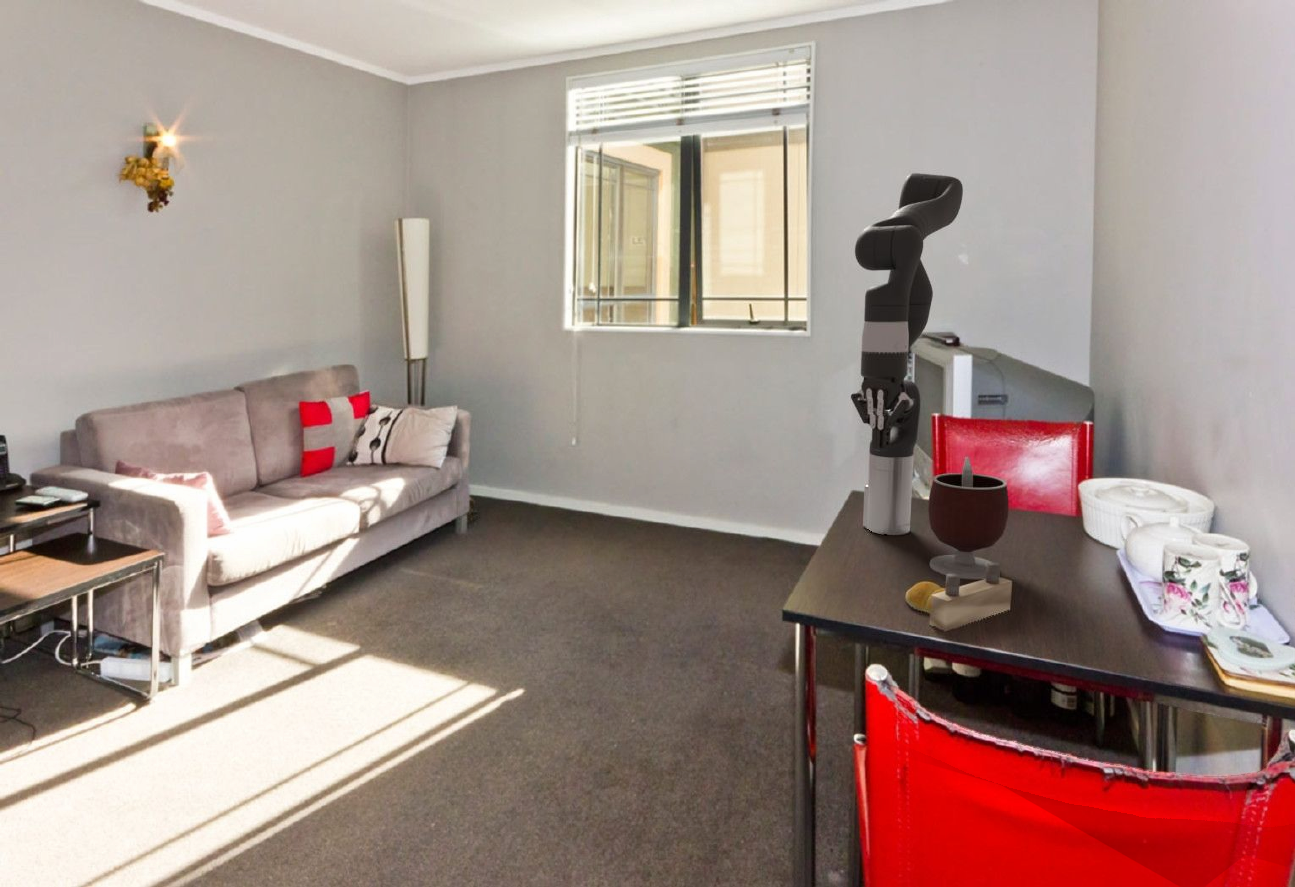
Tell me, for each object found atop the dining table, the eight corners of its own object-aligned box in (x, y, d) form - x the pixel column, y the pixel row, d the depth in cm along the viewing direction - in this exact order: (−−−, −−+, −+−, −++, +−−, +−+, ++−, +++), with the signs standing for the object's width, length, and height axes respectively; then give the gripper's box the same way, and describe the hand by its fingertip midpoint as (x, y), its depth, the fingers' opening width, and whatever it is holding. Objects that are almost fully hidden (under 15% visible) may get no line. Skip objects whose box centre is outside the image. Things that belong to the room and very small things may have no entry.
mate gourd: (1008, 584, 142) (1016, 475, 139) (926, 576, 146) (932, 470, 143) (998, 557, 157) (1005, 458, 153) (923, 551, 161) (929, 454, 157)
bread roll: (948, 622, 126) (949, 598, 125) (898, 606, 133) (899, 583, 132) (974, 609, 131) (975, 586, 131) (925, 594, 138) (926, 572, 137)
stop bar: (929, 625, 124) (932, 576, 123) (993, 604, 133) (996, 558, 131) (945, 631, 122) (948, 582, 121) (1010, 610, 130) (1013, 563, 129)
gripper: (932, 349, 129) (926, 454, 132) (870, 346, 140) (866, 442, 144) (900, 351, 126) (895, 459, 129) (839, 348, 137) (836, 446, 140)
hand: (880, 450), depth 136 cm, fingers closed
